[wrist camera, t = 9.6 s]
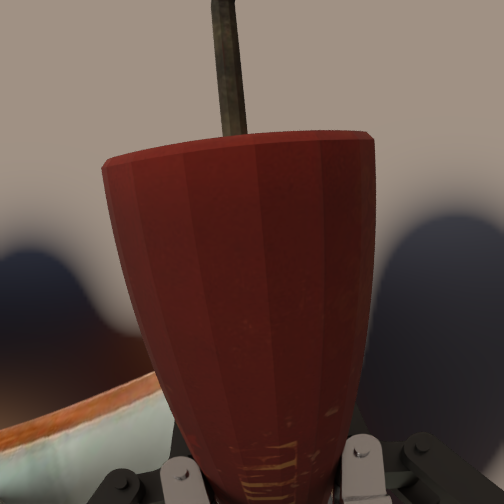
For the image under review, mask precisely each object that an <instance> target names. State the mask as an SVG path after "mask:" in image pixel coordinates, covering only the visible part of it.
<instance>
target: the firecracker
mask: <svg viewBox="0 0 504 504" xmlns="http://www.w3.org/2000/svg"><path fill="white" fill-rule="evenodd" d="M211 13H212V24H213V37H214V48H215V58H216V59H215V60H216V71H217V81H218V92H219V102H220V112H221V123H222V132H223V137H218V138H211V139H202V140H195V141H189V142H183V143H177V144H171V145H166V146H160V147H156V148H150V149H146V150H141V151H136V152H132V153H128V154H124V155H120V156H116V157H113V158H110V159H108V160H107V161H106V162H105V163H104V165H103V167H102V168H101V169H102V175H103V182H104V187H105V194H106V199H107V205H108V210H109V215H110V220H111V225H112V229H113V234H114V238H115V243H116V246H117V251H118V255H119V259H120V263H121V267H122V271H123V275H124V278H125V282H126V286H127V289H128V293H129V296H130V300H131V303H132V306H133V310H134V313H135V316H136V319H137V322H138V325H139V328H140V331H141V334H142V337H143V340H144V343H145V346H146V349H147V352H148V354H149V357H150V360H151V362H152V365H153V368H154V371H155V373H156V376H157V378H158V381H159V383H160V386H161V388H162V391H163V393H164V396H165V398H166V400H167V403H168V405H169V407H170V410H171V412H172V414H173V416H174V419H175V421H176V423H177V425H178V427H179V430H180V432H181V434H182V436H183V438H184V440H185V442H186V444H187V446H188V448H189V450H190V452H191V454H192V456H193V458H194V460H195V462H196V463H197V464H198V466H199V468H200V469H201V471H202V473H203V474H204V475H205V477H206V479H207V480H208V482H209V484H210V486H211V488H212V489H213V491H214V493H215V497H216V500H217V501H218V503H219V504H328V501H329V498H330V495H331V492H332V489H333V483H334V479H335V476H336V473H337V469H338V466H339V462H340V459H341V455H342V452H343V451H344V448H345V444H346V440H347V436H348V432H349V428H350V424H351V419H352V415H353V410H354V406H355V400H356V396H357V390H358V385H359V380H360V374H361V368H362V363H363V357H364V350H365V343H366V336H367V329H368V320H369V312H370V303H371V293H372V281H373V268H374V252H375V226H376V172H375V171H376V169H375V168H376V167H375V143H374V139H373V138H372V137H371V136H370V135H369V134H368V133H367V132H363V131H340V130H335V131H334V130H332V131H331V130H311V131H287V132H286V131H285V132H269V133H255V134H247V124H246V112H245V103H244V92H243V83H242V82H243V81H242V71H241V62H240V52H239V42H238V32H237V23H236V13H235V0H212V1H211Z"/></svg>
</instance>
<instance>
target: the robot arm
mask: <svg viewBox="0 0 504 504" xmlns="http://www.w3.org/2000/svg"><path fill="white" fill-rule="evenodd" d="M174 424H175V425H174V429H173V436H172V443H171V451H170V457H169V459H168V460H167V461H166V462H165V463H164V464H163V466H162V467H161V468H159V469H157V470H155V471H151V472H146V473H142V474H137V475H136V474H135V473H134V472H133V471H131V470H128V469H122V468H121V469H115V470H113V471H111V472H110V473H109V474H108V475H107V476H106V477H105V479H104V480H103V481H102V483H101V484H100V486H99V487H98V488H97V490H96V491H95V493H94V494H93V496H92V497H91V498H90V500H89V501H88V503H87V504H217V501H216V497H215V493H214V491H213V489H212V488H211V486H210V484H209V482H208V480H207V479H206V477H205V475H204V474H203V473H202V471H201V469H200V468H199V466H198V464H197V463H196V462H195V460H194V458H193V456H192V454H191V452H190V450H189V448H188V446H187V444H186V442H185V440H184V438H183V436H182V434H181V432H180V430H179V427H178V425H177V423H176V421H175V422H174ZM386 489H390V490H391V491H392V492H393V493H394V494H395V495H396V496H397V497H398V498H399V499H400V500H401V501H402V502H403V503H404V504H504V491H503V490H502V489H500V488H499V487H498V486H496V485H495V484H494V483H493V482H491V481H490V480H489V479H487V478H486V477H485V476H484V475H482V474H481V473H480V472H479V471H477V470H476V469H475V468H474V467H472V466H471V465H470V464H468V463H467V462H466V461H465V460H464V459H462V458H461V457H460V456H459V455H457V454H456V453H455V452H454V451H452V450H451V449H450V448H449V447H447V446H446V445H445V444H444V443H442V442H441V441H440V440H439V439H437V438H436V437H435V436H434V435H432V434H430V433H427V432H418V433H415V434H412V435H411V436H410V437H408V439H407V440H406V441H397V442H385V441H381V440H378V439H376V438H375V437H373V436H372V435H371V434H370V433H369V431H368V429H367V427H366V424H365V422H364V420H363V417H362V415H361V413H360V410H359V408H358V406H357V404H356V401H355V406H354V410H353V415H352V419H351V424H350V428H349V432H348V436H347V440H346V444H345V448H344V451H343V452H342V455H341V459H340V462H339V466H338V469H337V473H336V476H335V479H334V483H333V503H332V504H392V501H391V498H390V496H389V495H387V493H386ZM0 504H5V503H4V502H3V501H2V500H0Z"/></svg>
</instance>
